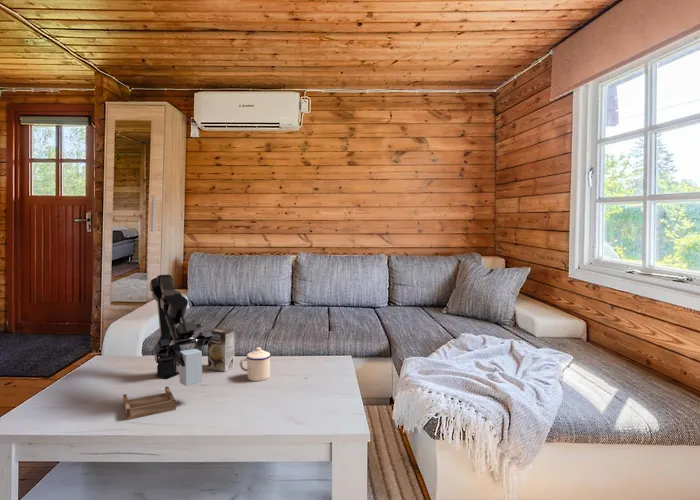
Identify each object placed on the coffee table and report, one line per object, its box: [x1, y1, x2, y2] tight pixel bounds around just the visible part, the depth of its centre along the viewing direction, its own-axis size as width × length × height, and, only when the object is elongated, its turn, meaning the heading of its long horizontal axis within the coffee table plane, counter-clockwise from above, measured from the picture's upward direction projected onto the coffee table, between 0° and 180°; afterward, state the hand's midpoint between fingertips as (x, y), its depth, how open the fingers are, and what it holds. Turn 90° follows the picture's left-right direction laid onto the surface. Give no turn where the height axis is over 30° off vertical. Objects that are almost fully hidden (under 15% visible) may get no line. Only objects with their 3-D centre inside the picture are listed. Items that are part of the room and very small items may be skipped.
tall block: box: [179, 347, 203, 387], centre depth 144 cm, size 5×6×10 cm
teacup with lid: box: [239, 347, 271, 382], centre depth 168 cm, size 12×9×12 cm
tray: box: [122, 386, 177, 421], centre depth 141 cm, size 14×14×3 cm
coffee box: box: [207, 327, 235, 373], centre depth 178 cm, size 9×6×16 cm
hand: (192, 364), depth 143 cm, fingers closed on tall block, 5 cm apart
